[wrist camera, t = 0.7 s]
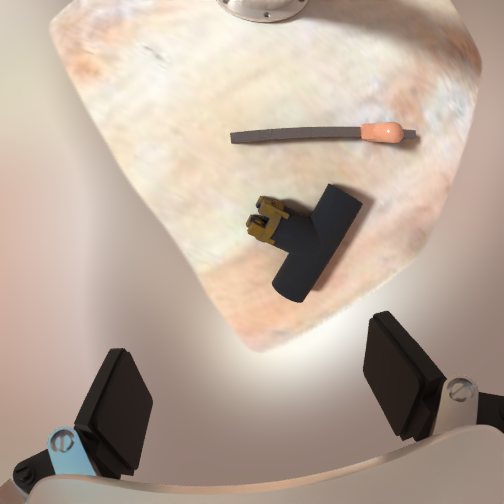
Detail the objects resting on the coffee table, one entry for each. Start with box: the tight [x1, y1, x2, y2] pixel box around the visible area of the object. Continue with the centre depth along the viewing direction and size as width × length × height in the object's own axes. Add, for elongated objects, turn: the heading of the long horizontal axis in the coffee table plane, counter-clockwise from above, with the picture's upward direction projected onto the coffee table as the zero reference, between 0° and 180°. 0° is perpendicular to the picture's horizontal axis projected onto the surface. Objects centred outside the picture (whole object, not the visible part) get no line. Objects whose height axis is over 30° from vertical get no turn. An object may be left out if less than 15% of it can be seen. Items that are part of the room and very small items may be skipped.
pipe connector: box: [246, 184, 363, 303], centre depth 35 cm, size 12×5×15 cm
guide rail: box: [230, 122, 416, 143], centre depth 29 cm, size 2×24×7 cm, turn 96°
